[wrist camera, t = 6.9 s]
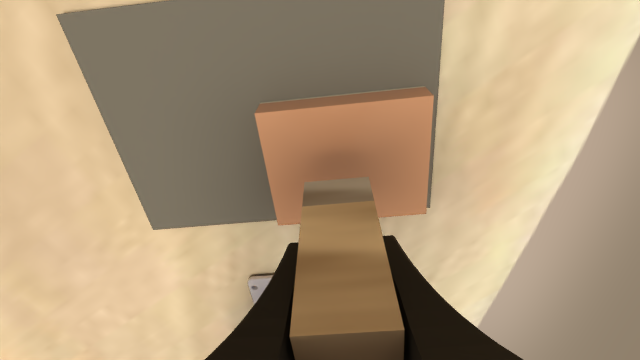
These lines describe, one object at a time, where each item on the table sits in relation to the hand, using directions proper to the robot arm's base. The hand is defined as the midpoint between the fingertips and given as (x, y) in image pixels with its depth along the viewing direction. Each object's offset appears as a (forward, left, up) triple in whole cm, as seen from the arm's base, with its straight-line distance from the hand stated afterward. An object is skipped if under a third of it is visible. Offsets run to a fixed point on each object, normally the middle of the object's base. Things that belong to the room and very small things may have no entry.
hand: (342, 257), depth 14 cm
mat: (+3, +4, -10) cm, 11 cm away
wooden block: (+1, 0, -3) cm, 3 cm away
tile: (0, +4, -9) cm, 10 cm away
